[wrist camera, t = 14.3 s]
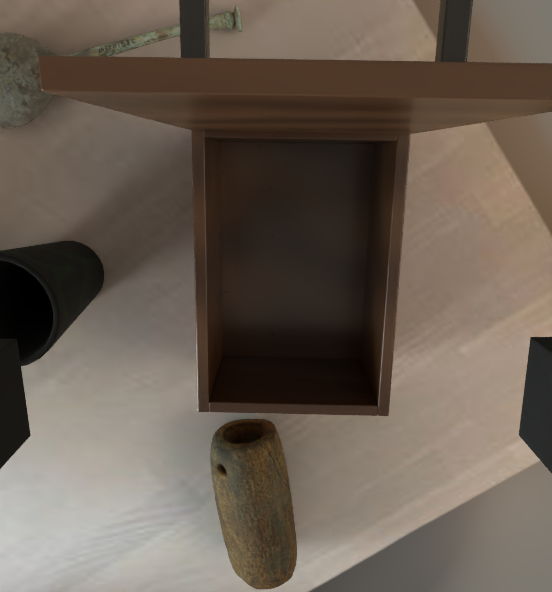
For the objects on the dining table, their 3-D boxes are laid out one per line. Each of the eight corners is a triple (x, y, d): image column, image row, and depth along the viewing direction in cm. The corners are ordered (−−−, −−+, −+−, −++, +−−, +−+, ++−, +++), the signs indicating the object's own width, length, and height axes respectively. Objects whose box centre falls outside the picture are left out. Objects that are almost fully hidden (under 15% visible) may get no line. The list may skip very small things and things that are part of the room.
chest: (367, 364, 47) (388, 416, 38) (215, 361, 47) (197, 412, 38) (382, 134, 42) (411, 127, 33) (212, 131, 42) (191, 123, 33)
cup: (123, 240, 44) (66, 269, 33) (109, 324, 46) (51, 380, 35) (32, 219, 44) (-57, 240, 33) (22, 304, 46) (-66, 353, 34)
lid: (619, 101, 12) (688, -291, 10) (40, 91, 12) (3, -298, 11) (412, 134, 32) (423, 1, 30) (190, 130, 32) (186, -3, 30)
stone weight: (202, 418, 49) (190, 458, 42) (276, 404, 48) (276, 442, 42) (238, 553, 52) (231, 609, 46) (307, 541, 52) (310, 596, 45)
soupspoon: (-37, 51, 42) (-5, 136, 43) (-65, 45, 38) (-29, 136, 40) (232, -26, 39) (253, 67, 41) (226, -40, 36) (249, 62, 38)
